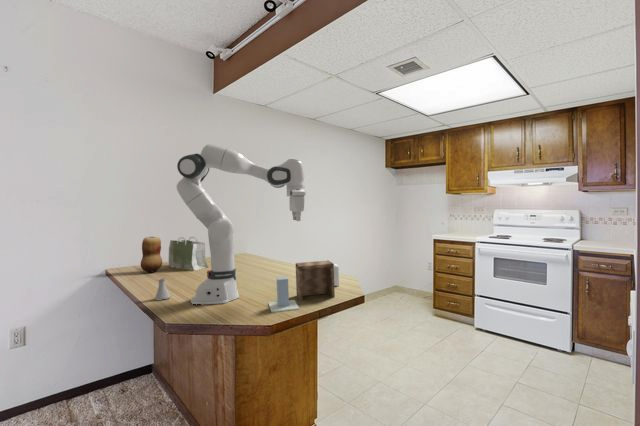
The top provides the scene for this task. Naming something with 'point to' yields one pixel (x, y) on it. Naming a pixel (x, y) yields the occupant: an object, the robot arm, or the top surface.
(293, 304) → the plate
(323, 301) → the top surface
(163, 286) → the flask
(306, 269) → the shelf cubby
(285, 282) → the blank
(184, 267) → the grocery bag
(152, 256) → the butternut squash
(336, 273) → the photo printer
